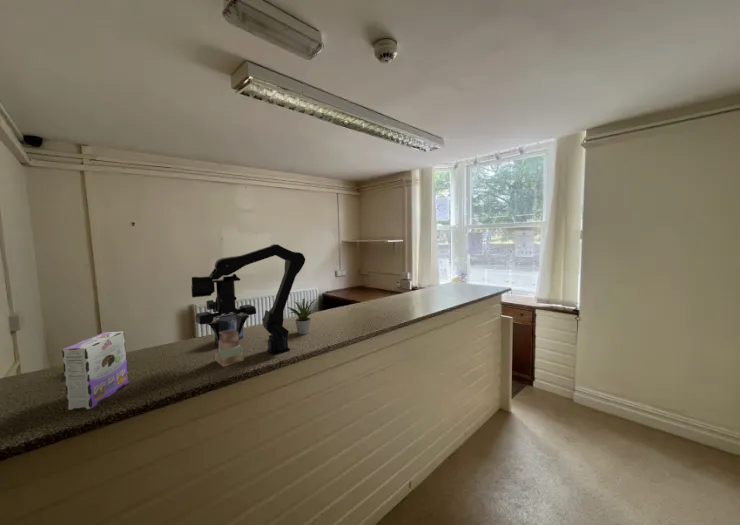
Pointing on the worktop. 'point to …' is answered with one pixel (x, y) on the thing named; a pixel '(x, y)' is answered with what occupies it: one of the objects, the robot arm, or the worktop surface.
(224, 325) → the small box
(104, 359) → the candy box
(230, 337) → the rose cube
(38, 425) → the worktop surface
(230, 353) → the sage top block
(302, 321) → the house plant
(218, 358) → the beech base block
